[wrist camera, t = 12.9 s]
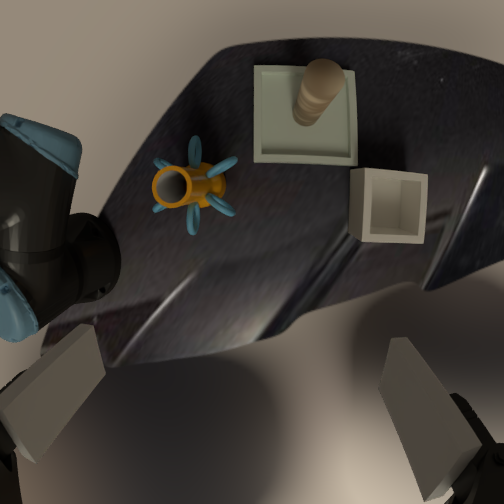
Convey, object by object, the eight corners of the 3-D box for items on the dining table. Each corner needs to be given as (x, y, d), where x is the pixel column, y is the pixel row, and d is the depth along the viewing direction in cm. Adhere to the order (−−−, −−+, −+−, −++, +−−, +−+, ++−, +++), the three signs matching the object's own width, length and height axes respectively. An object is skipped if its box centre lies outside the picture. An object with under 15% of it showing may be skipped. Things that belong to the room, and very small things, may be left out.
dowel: (292, 125, 38) (305, 93, 22) (292, 101, 37) (303, 57, 21) (318, 127, 38) (346, 96, 22) (317, 103, 37) (343, 60, 21)
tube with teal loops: (172, 143, 40) (125, 127, 26) (243, 142, 40) (228, 121, 25) (170, 225, 43) (124, 247, 28) (240, 228, 42) (223, 253, 28)
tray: (254, 162, 40) (253, 161, 38) (254, 70, 37) (254, 65, 35) (353, 166, 39) (357, 165, 37) (350, 75, 36) (354, 71, 34)
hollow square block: (347, 232, 42) (361, 241, 35) (350, 169, 39) (364, 167, 33) (402, 234, 41) (423, 243, 34) (405, 174, 39) (427, 174, 32)
